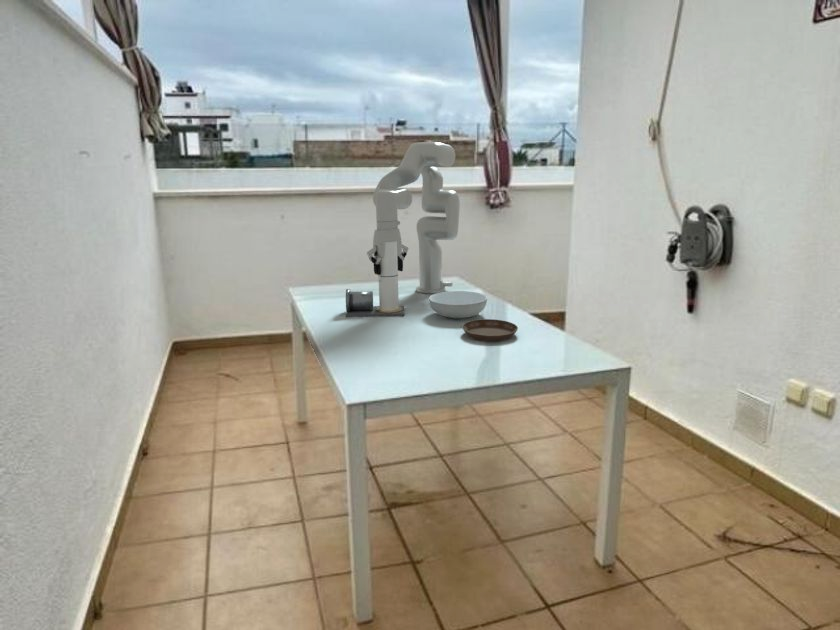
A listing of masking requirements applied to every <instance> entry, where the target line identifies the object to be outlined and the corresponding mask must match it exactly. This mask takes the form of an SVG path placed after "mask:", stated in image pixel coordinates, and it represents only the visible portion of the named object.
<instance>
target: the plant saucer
mask: <svg viewBox="0 0 840 630" xmlns="http://www.w3.org/2000/svg"><path fill="white" fill-rule="evenodd" d="M461 328H462V330H463V331H464V333H465V334H466V335H467V336H468V337H469V338H471V339H472V340H476V341H481V342H482V341H483V342H501V341H506V340H509V339H511V338H512V337H513V336H514V335H515V334H516V333H517V331H518V329H519V328H518V326H517V324H516V323H513V322H510V321H506V320H502V319H491V318H490V319H489V318H488V319H487V318H484V319H482V318H481V319H475V320H470V321H466V322H465V323H463V324H462V325H461Z"/></svg>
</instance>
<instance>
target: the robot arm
mask: <svg viewBox="0 0 840 630" xmlns="http://www.w3.org/2000/svg"><path fill="white" fill-rule="evenodd" d="M455 161H456V151H455V149H454V148H453V146H451V145H450V144H446V143H443V142H437V141H424V142H423V141H422V142H421V141H420V142H413V143H412V144H411V145H409V146H408V148H407V150H406V152H405V153H404V157H403V158H402V160H401V162H400V165H399V166H397V167H396V168H394V169H393V170H391V171H390V172H388V173H386V175H384V176H383V177H382V178H381V179H380V180H379V182H377V185H376V187H375V189H374V192H373V195H372V196H373V197H372V201H373V204H374V206H375V211H376V212H375V213H376V214H375V216H376V219H375V220H376V229H374V232H373V240H372V248H371V249H370V250H368V251H367V252H366V255H367V256H368V258H369V261H370V262H371V263H373V272H374V275H376V276H378V275H380V274H381V268H380V264H379V262H380V260H381V259H382V258H384V255H385V242H395V241H397V260H398V272H403V271H404V261H405V257H406V256H407V253H408V251H409V247H408V246H406V245H404V244H402V238H401V231H400V228H398V227H399V225H401V222H400V221H399V220H398V210H406V209H408V208H409V207H410V206H411V205H412V202H413V194H412V193H411V191H410V190H409V189H406V188H401V187H404V186H408V185H410V184H414V183H415V182H416V181H418V180H419V178H420V176H421V178H422V186H421V187H422V190H421V191H422V192H421V208H422V209H421V210H422V211H423V212H424V213H429V214H445V216H430V215H429V216H428V215H425V216H423V217H420V218H419V219H418V220H417V222H416V234H417V239H418V247H419V248H418V252H419V253H418V258H419V259H418V260H419V261H418V263H419V264H418V265H419V267H418V269H419V273H418V274H419V278H418V280H419V286H417V287H416V288H415V291H416V292H418V293H422V294H436V293H441V292H446V287H453V282H452V281H444V280H443V277H442V274H443V273H442V272H443V269H442V265H443V264H442V259H443V257H442V255H443V254H442V253H443V252H442V247H441V245H440V243H439V242H438V240H439V241H453V240H455V239H456V238H457V237H458V232H459V221H460V220H459V219H460V196H459V194H458V193H457V191H455V190H450V189H447V190H446V189H444V186H443V185H444V177H443V175H442V173H441V171H440V170H439V169H438V168H450V167H452V166H453V165H454V164H455ZM381 244H382V245H381ZM378 254H379V255H378Z"/></svg>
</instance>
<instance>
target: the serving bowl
mask: <svg viewBox="0 0 840 630" xmlns="http://www.w3.org/2000/svg"><path fill="white" fill-rule="evenodd" d="M428 301H429V305H430V307H431V309H432V310H433V311H434V312H435V313H436V314H438V315H440V316H442V317H445V318H450V319H456V320H457V319H458V320H459V319H467V318H471V317H474V316H476V315H479V314H480V313H481V312H483V311H484V309H485V308H486V305H487V301H488V296H487V295H486V294H483V293H480V292H476V291H467V290H449V291H444V292H440V293H432V295H430V296H429V297H428Z"/></svg>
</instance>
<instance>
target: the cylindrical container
mask: <svg viewBox="0 0 840 630" xmlns="http://www.w3.org/2000/svg"><path fill="white" fill-rule="evenodd" d="M381 245H382V244H381ZM378 255H379V254H378ZM379 264H380V268H381V274H380V275H377V276H378V278H377V279H378V298H379V299H378V300H379V303H378V304H379V305H378V306H380V310H383V311H393V310H397V309H399V306H400V303H399V301H400V299H399V297H400V296H399V271H398V260H397V241H395V242H385V255H384V258H382V259H381V260H380V262H379Z"/></svg>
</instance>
